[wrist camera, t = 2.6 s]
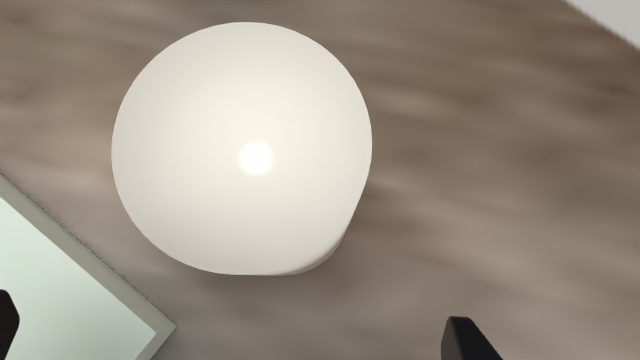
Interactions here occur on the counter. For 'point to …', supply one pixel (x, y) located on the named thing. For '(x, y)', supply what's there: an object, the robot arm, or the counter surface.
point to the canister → (243, 150)
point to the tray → (68, 293)
